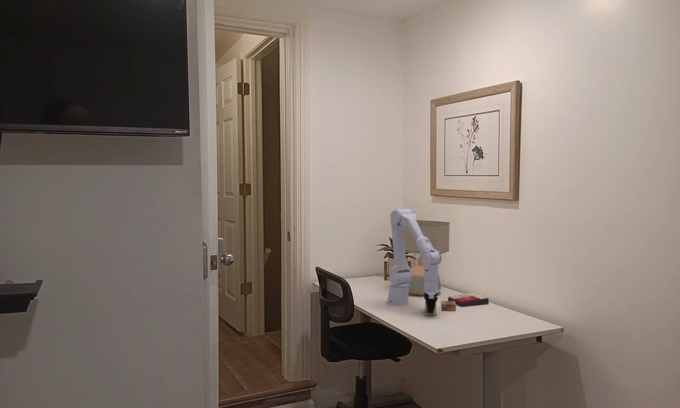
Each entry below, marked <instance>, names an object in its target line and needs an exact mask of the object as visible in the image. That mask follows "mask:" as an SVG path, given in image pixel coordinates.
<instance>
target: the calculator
mask: <svg viewBox="0 0 680 408" xmlns="http://www.w3.org/2000/svg"><path fill="white" fill-rule="evenodd" d="M447 301H455V303H456V306H458V307H461V308H464V307H465V308H467V307H474V306H484V305H489V298H488V297H487V296H484V295H481V294H479V293H476V292H469V293H461V294H455V295H449V296H447Z"/></svg>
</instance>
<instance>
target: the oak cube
mask: <svg viewBox="0 0 680 408" xmlns="http://www.w3.org/2000/svg"><path fill="white" fill-rule="evenodd" d="M424 302H425V303H424V315H426V316H437V303H436V304H435V308H434V312H433V313H428V309H427V303H426V301H424Z"/></svg>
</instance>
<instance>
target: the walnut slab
mask: <svg viewBox="0 0 680 408" xmlns="http://www.w3.org/2000/svg"><path fill="white" fill-rule="evenodd" d="M440 307H441V310H442V311H441V312H444V311H455V312H454V313H457V312H456V309H457V305H456V303H455V301H448V300H440Z"/></svg>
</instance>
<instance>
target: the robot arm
mask: <svg viewBox="0 0 680 408" xmlns="http://www.w3.org/2000/svg"><path fill="white" fill-rule="evenodd" d="M417 217H418V216H417V213H416V212H415V210H414V209H413V208H410V207H409V208H399V209H397V208H395V209H393V210H392V211H391V213H390V227H391V238H392V249H393V263H394V264H393V265H392V267H391V268H390V269H389V275H388V278H389V279H388V280H389V283H390V284H388V294H387V295H388V296H387V306H398V307H399V306H400V307H402V306H407V305H409V300H410V299H409V295H410V294H409V285H410V283H411V282H412V280H413V275H412V273H411V269H412V268H411V266H410V265H408V264H407V257H406V256H407V254H406V252H405V243H404V231H403V230H404V228H405V227H406V226H407V227H408V228H409V229H410V231H411V232H412V234H413V235H414V237H415V238H416V245H417V247H418V249H419V251H420V252H421V254H422V256H423V257H422V262H423V265H424V269H425V275H424V292H425V293H424V295H425V296H423V298H424V300H425V302H426V303H427V309H428V313H433V312H434V308H435V304H436V305H437V301H438V300H439V297H438V293H441V291H442V290H438V275H439V265H440V264H441V262H442V254H440V252H438V251H436V249H434V248H433V246H432V245H431V243H430V241H429V239H428V238H427V237H424V236H423V234H422V232H421V230H420V228H419V225H418V223H417V221H416V220H417ZM421 254H420V255H421Z"/></svg>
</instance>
